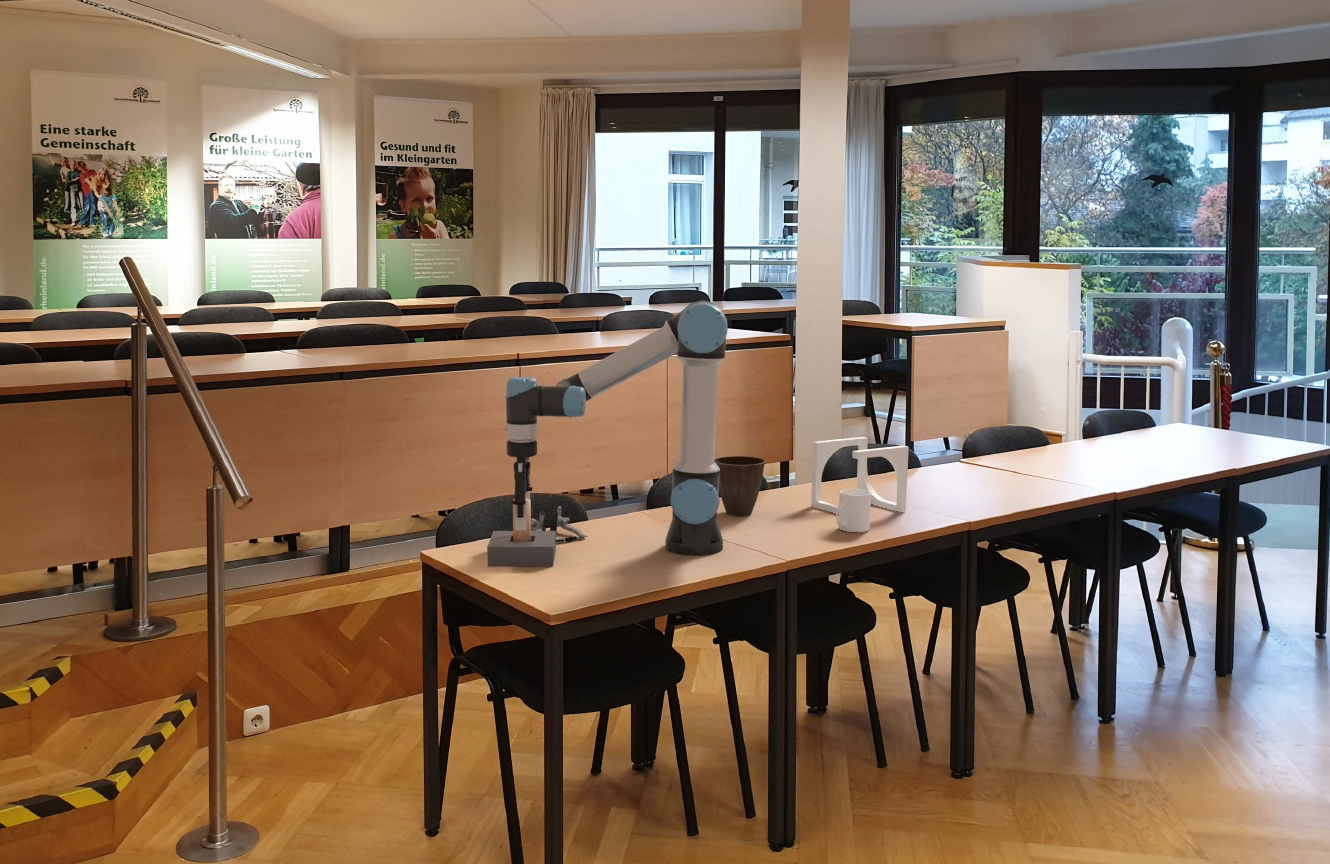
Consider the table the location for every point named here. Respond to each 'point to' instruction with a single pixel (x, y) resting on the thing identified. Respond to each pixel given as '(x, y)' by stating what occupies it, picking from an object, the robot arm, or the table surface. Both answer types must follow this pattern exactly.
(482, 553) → the table surface
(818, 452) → the white piece
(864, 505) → the mug
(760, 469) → the plant pot
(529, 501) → the peg
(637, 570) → the table surface
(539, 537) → the socket block
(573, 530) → the bike brake
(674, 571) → the table surface
